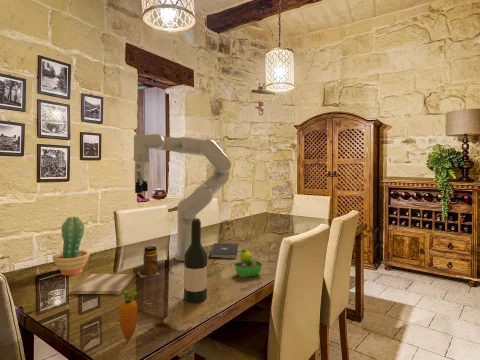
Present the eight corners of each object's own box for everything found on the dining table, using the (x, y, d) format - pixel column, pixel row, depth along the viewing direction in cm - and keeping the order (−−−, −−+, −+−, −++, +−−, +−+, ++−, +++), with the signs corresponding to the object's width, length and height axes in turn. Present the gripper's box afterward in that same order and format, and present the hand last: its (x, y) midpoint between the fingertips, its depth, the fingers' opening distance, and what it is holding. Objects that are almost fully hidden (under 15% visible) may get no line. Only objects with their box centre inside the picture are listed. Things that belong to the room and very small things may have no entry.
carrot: (130, 334, 93) (130, 284, 92) (141, 339, 90) (141, 288, 89) (115, 341, 88) (115, 289, 88) (126, 348, 86) (125, 294, 85)
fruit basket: (240, 279, 138) (241, 253, 137) (232, 272, 146) (232, 248, 145) (263, 275, 143) (263, 250, 142) (253, 269, 151) (253, 246, 150)
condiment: (160, 274, 142) (160, 248, 141) (141, 278, 137) (141, 250, 137) (154, 269, 148) (155, 244, 147) (136, 272, 143) (136, 247, 143)
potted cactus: (98, 268, 148) (97, 215, 147) (70, 279, 134) (70, 221, 132) (72, 264, 153) (72, 213, 152) (43, 275, 139) (42, 218, 137)
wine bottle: (185, 293, 121) (185, 216, 120) (206, 293, 122) (207, 216, 121) (183, 303, 113) (183, 220, 112) (206, 303, 114) (207, 220, 112)
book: (213, 248, 189) (213, 243, 189) (238, 248, 189) (238, 243, 188) (208, 259, 167) (209, 253, 167) (236, 259, 167) (236, 254, 167)
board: (133, 277, 138) (133, 274, 137) (119, 294, 120) (119, 290, 119) (92, 277, 137) (92, 273, 137) (71, 294, 119) (71, 290, 119)
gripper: (143, 158, 152) (143, 193, 153) (153, 159, 169) (153, 190, 170) (128, 158, 152) (128, 193, 153) (139, 158, 169) (139, 190, 170)
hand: (141, 192), depth 161 cm, fingers open, 9 cm apart
